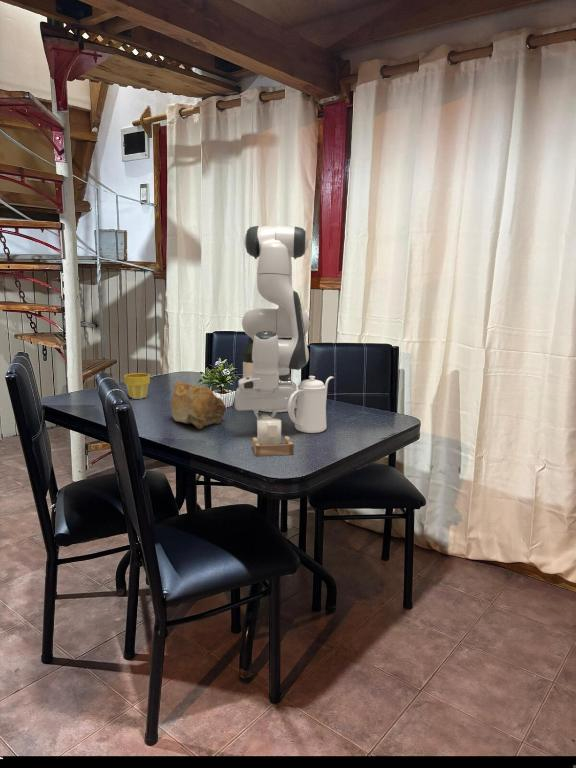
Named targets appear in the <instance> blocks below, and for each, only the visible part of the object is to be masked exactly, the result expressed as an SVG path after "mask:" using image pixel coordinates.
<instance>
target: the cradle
mask: <svg viewBox="0 0 576 768" xmlns="http://www.w3.org/2000/svg"><path fill="white" fill-rule="evenodd" d="M283 443H284V444H283ZM283 443H280V444H277V445H261V444H259V442H258V440H257V436H256V437H252V449H253V451H254V454H255V456H256V457H261V456H262V457H263V456H265V457H267V456H268V457H269V456H286V455H287V456H288V455H291V456H292V455H294V449H295V448H294V443H293V442H292V440H291V438H290V437H289V436H288V435H287V436H284V442H283Z"/></svg>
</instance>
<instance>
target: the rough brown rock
mask: <svg viewBox="0 0 576 768" xmlns="http://www.w3.org/2000/svg"><path fill="white" fill-rule="evenodd" d="M226 408H227V407H226V405H225V403H224V401H223V399H222V398H220V397H217V396H216V395H215V394H214V392H213V390H212V389H211V388H209V387H208V386H203V387H202V386H199V385H191V384H189V383H188V382H187V383H186V382H183V381H176V382H175V384H174V388H173V396H172V398H171V413H172V415H171V416H172V418H173V420H174V421H175V422H177V423H183V424H192V425H193V426H195V428H197V429H198V430H200V429H203V428H204V427H206V426H209V425H212V424H217V425H218V424H221V423H222V421H223V418H224V417H223V416H224V415H225V412H226V410H227V409H226Z"/></svg>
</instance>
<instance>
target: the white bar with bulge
mask: <svg viewBox="0 0 576 768" xmlns="http://www.w3.org/2000/svg"><path fill="white" fill-rule="evenodd" d="M270 416H271V415H269V414H260V417H262V419H259V420H257V419H256V432H257V433H256V434H257V436H256V437H257V440H258V442H259V444H260V445H277V444H282V420H281V419H279V418H274V417H273V418H271V417H270Z"/></svg>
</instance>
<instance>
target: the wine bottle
mask: <svg viewBox="0 0 576 768" xmlns="http://www.w3.org/2000/svg"><path fill="white" fill-rule="evenodd" d="M252 347H253V339H252V338H251V337H249V336H248V342H247V345H246V347H245V349H244V350H243V352H242V378H245V377H248V376H251V375H252V370H253V361H252Z"/></svg>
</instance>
